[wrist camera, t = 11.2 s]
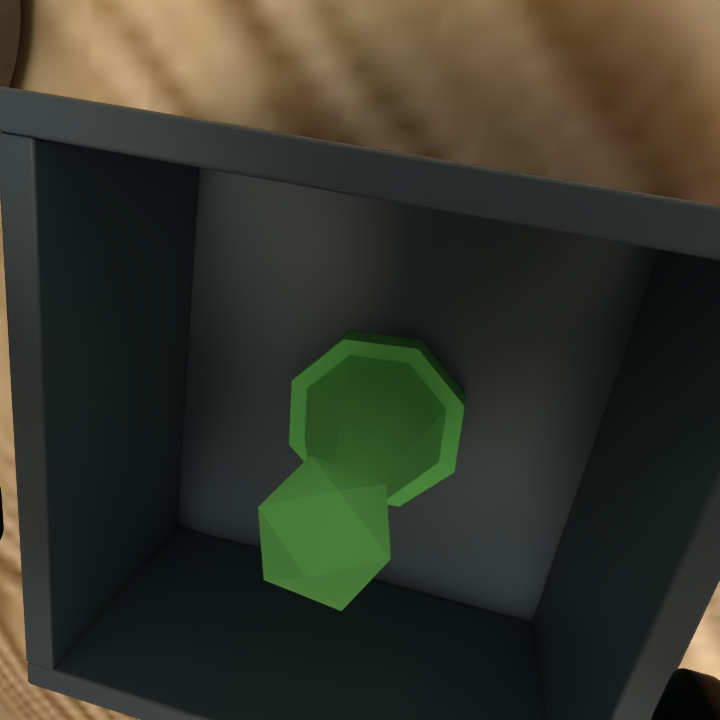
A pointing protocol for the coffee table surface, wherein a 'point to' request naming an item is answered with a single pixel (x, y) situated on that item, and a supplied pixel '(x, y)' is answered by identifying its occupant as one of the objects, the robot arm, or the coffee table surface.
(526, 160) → the coffee table surface
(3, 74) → the mug
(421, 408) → the game piece
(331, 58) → the coffee table surface
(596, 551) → the bin
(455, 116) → the coffee table surface
